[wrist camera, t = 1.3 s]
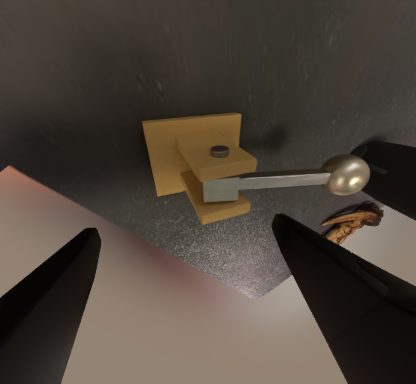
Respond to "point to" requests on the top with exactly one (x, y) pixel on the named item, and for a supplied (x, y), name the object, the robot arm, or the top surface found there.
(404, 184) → the portable speaker
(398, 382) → the robot arm
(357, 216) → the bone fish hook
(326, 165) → the tap lever
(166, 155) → the tap bracket
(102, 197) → the top surface
